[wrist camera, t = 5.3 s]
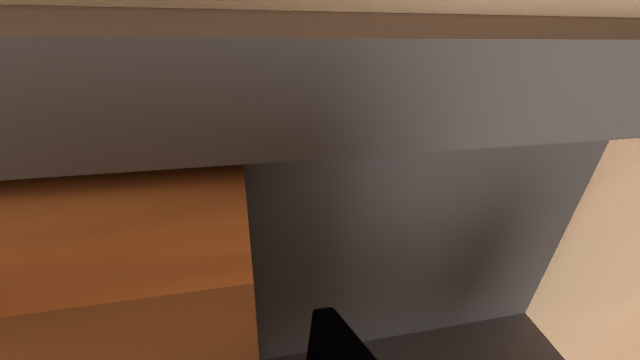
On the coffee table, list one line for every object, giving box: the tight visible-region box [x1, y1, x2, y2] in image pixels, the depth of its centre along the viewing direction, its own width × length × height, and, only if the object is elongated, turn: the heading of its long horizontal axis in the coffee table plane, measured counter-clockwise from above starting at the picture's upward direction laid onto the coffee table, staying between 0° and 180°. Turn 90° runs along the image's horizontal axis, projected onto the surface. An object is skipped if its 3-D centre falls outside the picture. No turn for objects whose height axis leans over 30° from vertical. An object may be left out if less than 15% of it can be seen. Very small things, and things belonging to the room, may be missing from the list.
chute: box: [0, 5, 640, 360], centre depth 10 cm, size 14×20×4 cm
